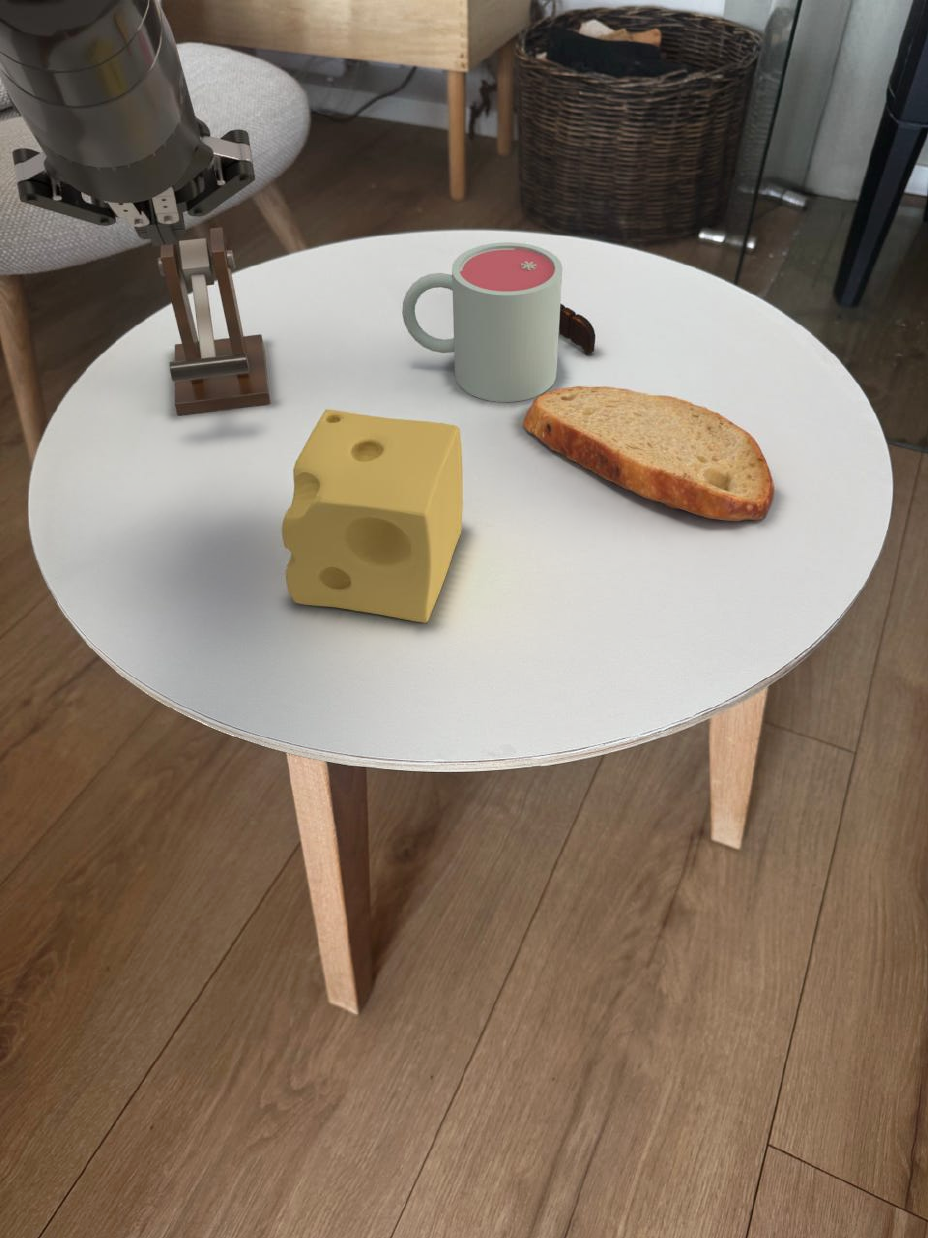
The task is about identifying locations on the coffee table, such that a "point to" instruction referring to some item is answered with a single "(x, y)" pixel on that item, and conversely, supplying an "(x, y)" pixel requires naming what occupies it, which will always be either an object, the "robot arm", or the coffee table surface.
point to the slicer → (217, 389)
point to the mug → (498, 319)
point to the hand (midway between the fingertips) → (163, 229)
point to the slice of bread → (657, 449)
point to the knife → (577, 329)
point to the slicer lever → (203, 320)
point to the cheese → (374, 514)
